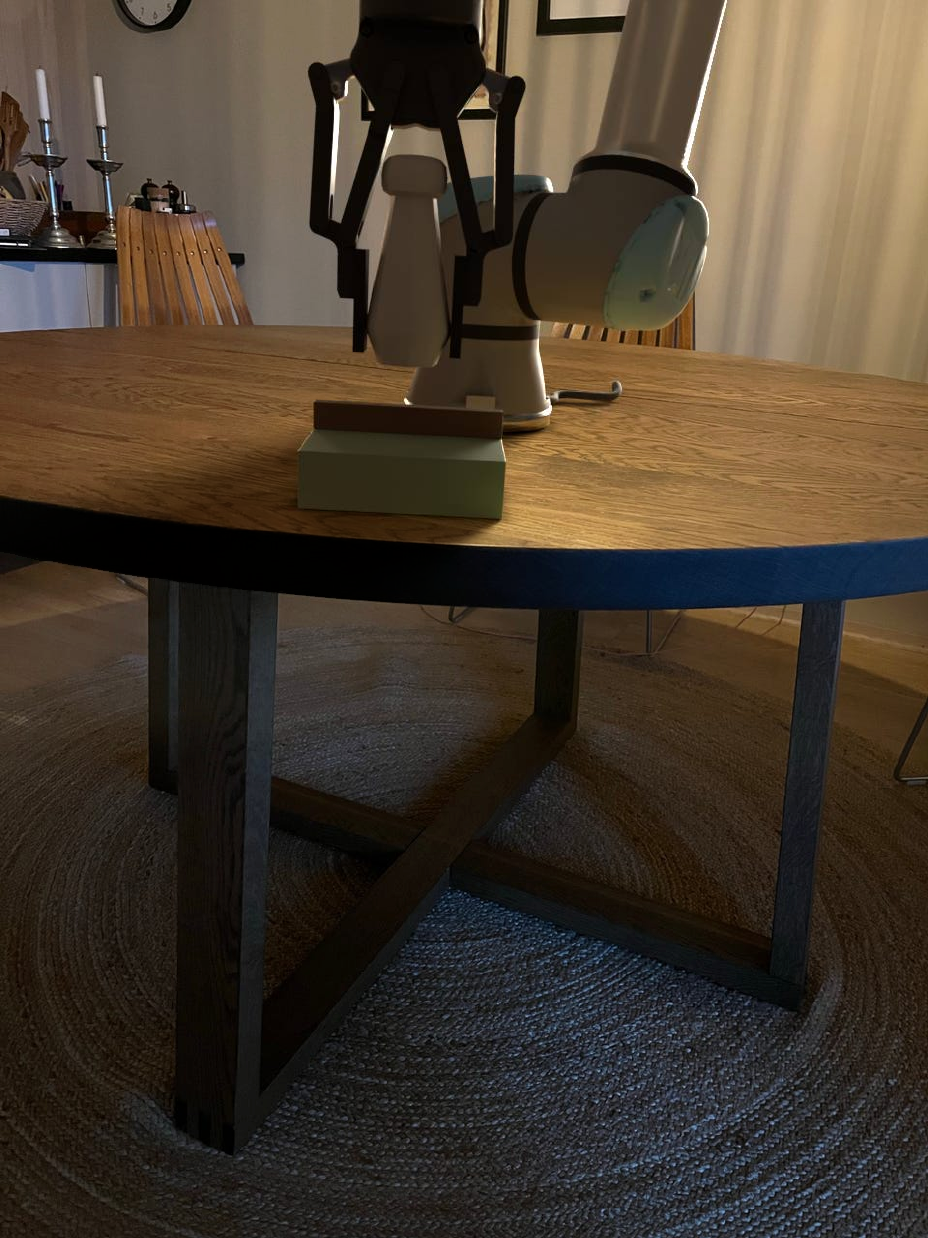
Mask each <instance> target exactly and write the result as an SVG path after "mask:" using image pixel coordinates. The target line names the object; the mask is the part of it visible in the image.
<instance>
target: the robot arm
mask: <svg viewBox="0 0 928 1238" xmlns="http://www.w3.org/2000/svg"><path fill="white" fill-rule="evenodd" d="M483 3H484V2H483V0H358V29H357V30H358V32H357V36H356V37H357V38H356V41H355V43H354V45H353V47H352V49H351V51H350V54H349V57H348V58H345V59H340V60H337V61H334V62H333V61H332V62H330V63H326V64H324V63H322V62H320V61H314V62H312V63H310V65H309V66H308V69H307V76H308V80H309V85H310V88H311V92H312V96H313V99H314V104H315V114H314V131H313V146H312V147H313V148H312V164H311V166H312V167H311V187H310V201H309V202H310V203H309V220H308V225H309V230H310V231H311V232H312V234H315V235H318V236H320V237H322V238H325V239H326V240H328V241H331V242H332V243H333V244H334V245H335V247H336V250H337V258H336V259H337V260H336V261H337V262H336V263H337V264H336V265H337V267H336V268H337V269H336V291H337V294H338V297H339V299H346V300H347V299H349V300H353V301H352V344H351V345H352V346H351V347H352V350H351V351H352V353H358V354H360V353H361V354H364V353H365V352H366V351H367V350H368V334H367V327H366V322H367V316H368V311H369V289H370V288H369V286H370V285H369V283H370V282H369V281H370V249H369V248H359V243H360V237H361V234H362V231H363V228H364V225H365V221H366V219H367V215H368V212H369V209H370V205H371V203H372V199H373V196H374V193H375V189H376V186H377V183H378V180H379V177H380V175H381V171H382V167H383V163H384V162H385V158H386V154H387V151H388V147H389V145H390V143H391V140H392V137H393V134H394V131H395V130H409V129H412V128H416V127H417V128H419V129H423V130H425V131H428V132H437V133H438V132H439V133H440V138H441V143H442V146H443V151H444V156H445V159H446V160H445V161H446V164H447V168H448V169H447V170H448V172H449V177H450V182H447V189H446V192H445V195H443V196H441V197H439V198H437V199H436V200H437V210H438V219H439V229H440V238H441V248H442V257H443V267H444V276H445V285H446V292H447V300H448V308H449V316H450V324H451V333H450V338H449V340H448V342H447V343H446V345H445V347H444V349H443V351H442V353H441V355H440V357H439V359H438V362H437V364H436V365H435V366H433V367H415V370H414V372H413V376H412V379H411V383H410V387H408V388H407V390H406V393H405V397H404V404H405V405H423V406H441V407H459V408H477V409H495V410H503V425H502V433H507V432H508V433H511V432H512V433H513V432H526V431H527V432H529V431H535V430H539V429H543V428H546V427H548V426H549V425H551V414H552V413H551V412H552V405H555V404H557V403H558V402H559V400H562V399H564V400H565V399H567V400H568V399H571V400H582V401H583V400H586V401H594V402H595V401H597V402H608V401H615V400H617V399H618V398H619V397H620V396H621V394H622V392H623V386H622V384H621V382H620V381H619V380H614V381H613V382H612V383H611V391H610V392H592V391H581V390H579V391H578V390H555V391H553V392H552V393H550V395H548V394H546V384H545V377H544V376H545V375H544V371H543V365H542V360H541V353H540V348H539V344H540V329H541V322H549V323H558V324H568V325H576V326H585V327H586V326H587V327H595V328H604V329H611V330H612V331H615V332H626V331H648V332H649V331H658V330H661V329H664V328H666V327H668V326H669V325H670V324H672V323H673V322H674V321H675V319H677V318H678V317H679V316H680V315H681V314H682V312H683V311H684V310H685V308H686V307H687V305H688V304H689V302H690V300H691V298H692V296H693V294H694V293H695V290H696V287H697V285H698V283H699V280H700V277H701V274H702V271H703V267H704V264H705V260H706V257H707V249H708V247H707V246H706V244H707V243H706V242H707V240H708V238H709V229H710V226H709V225H710V224H709V223H710V222H709V217H708V211H707V209H706V207H705V206H704V204H703V202H702V201H701V200H700V199H698V198H697V195H698V184H697V181H696V180H695V179H694V177H693V176H692V174H691V173H690V171H689V170H688V168H687V165H688V161H689V157H690V153H691V148H692V144H693V141H694V138H695V137H694V136H695V132H696V129H697V125H698V120H699V116H700V111H701V107H702V103H703V99H704V95H705V91H706V86H707V84H708V83H707V82H708V80H709V74H710V71H711V65H712V62H713V57H714V55H715V49H716V45H717V41H718V38H719V33H720V28H721V25H722V20H723V17H724V13H725V9H726V5H727V0H629V1H628V5H627V9H626V14H625V17H624V22H623V25H622V31H621V35H620V38H619V42H618V48H617V52H616V56H615V61H614V64H613V68H612V73H611V77H610V81H609V85H608V90H607V93H606V99H605V102H604V106H603V111H602V116H601V120H600V124H599V128H598V133H597V135H596V141H595V145H594V148H593V149H592V150H590V151H589V152H587V153H586V154H584V155H581V157H579V158H578V159H577V160H576V161H575V163H574V165H573V167H572V172H571V176H570V181H569V184H568V189H567V191H566V192H554V189H553V186H552V182H551V180H550V178H548V177H547V176H544V175H538V174H515V158H516V156H515V155H516V154H515V153H516V152H515V150H516V117H517V115H518V113H519V109H520V107H521V104H522V102H523V101H522V100H523V98H524V95H525V92H526V87H527V85H526V81H525V79H524V78H523V77H522V76H520V75H512V76H511V77H510V76H508V75H506V74H503V73H501V72H499V71H496V70H494V69H491V68H489V67H488V65H487V61H486V58H485V56H484V53H483V50H482V47H481V36H482V19H483ZM353 79H356V82H357V83H358V84H359V86H360V88H361V89H362V91H363V93H364V94H365V95H364V96H365V97H366V99H367V100H368V101H369V103H370V104H371V106H372V108H373V112H372V116H371V119H370V122H369V125H368V129H367V135H366V138H365V142H364V145H363V148H362V151H361V152H362V153H361V154H360V158H359V162H358V164H357V168H356V172H355V175H354V178H353V181H352V184H351V187H350V191H349V195H348V197H347V201H346V204H345V208H344V211H343V214H342V217H341V221H337V220H335V219H334V205H335V192H336V191H335V190H336V176H337V175H336V173H337V160H338V159H337V158H338V157H337V156H338V145H339V144H338V142H339V127H340V108H339V107H340V106H339V103H340V102H342V101H344V100H345V99H346V97H347V95H348V85H349V83H350V81H352V80H353ZM481 87H482V88H483V89H484V90H485V91H486V93H487V106H488V109H489V110H490V111H491V112H493V113H495V114H496V117H495V122H494V143H493V145H494V146H493V147H494V149H493V150H494V151H493V155H494V156H493V163H494V164H493V175H485V176H477V177H471V175H470V171H469V166H468V161H467V157H466V152H465V147H464V142H463V138H462V133H461V128H460V124H459V119H458V118H459V117H460V115H461V114H462V113H463V112H464V110H465V109H466V107H467V106H468V104H469V103H470V102H471V100H472V99H473V98H474V96H475V95H476V93H477V92H478V91H479V89H480V88H481Z"/></svg>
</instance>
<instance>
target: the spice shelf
mask: <svg viewBox="0 0 928 1238" xmlns="http://www.w3.org/2000/svg"><path fill="white" fill-rule="evenodd" d="M312 408H313V412H312V413H313V429H312V431H311V432H310V434H309V435H308V436H307V437H306V439H305V440H304V442H303V443H302V444H301V446H300V447H299V448H298V450H297V509H301V510H302V509H304V510H322V511H341V512H361V513H376V514H377V513H378V514H379V513H381V514H396V515H397V514H398V515H417V516H434V517H435V516H436V517H454V518H455V517H456V518H473V519H474V518H475V519H490V520H491V519H493V520H503V512H504V499H505V497H504V496H505V485H506V484H505V483H506V470H507V461H506V460H507V459H506V456H505V451H504V445H503V440H502V437H503V432H502V425H503V410H495V409H477V408H459V407H441V406H423V405H405V403H404V404H403V403H387V402H385V403H384V402H367V401H351V400H350V401H349V400H332V399H331V400H330V399H315V400H314V401H313V407H312Z"/></svg>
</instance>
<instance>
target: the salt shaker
mask: <svg viewBox="0 0 928 1238" xmlns="http://www.w3.org/2000/svg"><path fill="white" fill-rule="evenodd" d="M447 168H448V167H447V166H446V165H445V162H443V161H442V160H441V159H439V158H436V157H434V156H430V155H423V154H414V153H413V154H411V153H410V154H403V153H402V154H401V153H400V154H394V155H390V156H388V157H387V158H386V159H384V161H383V164H382V167H381V172H380V179H381V180H380V181H381V182H380V183H381V184H380V185H381V189H382V192H384V193H385V194H386V195H388V196H389V199H388V200H389V201H388V206H387V211H386V217H385V221H384V228H383V231H382V238H381V243H380V248H379V253H378V259H377V264H376V269H375V273H374V274H375V275H374V280H373V286H372V290H371V295H370V301H369V305H368V316H367V322H366V327H367V337H368V339H369V341H370V344H371V347H372V350H373V353H374V356H375V359H376V362H378V363H379V364H381V365H383V366H391V367H392V366H393V367H400V368H416V367H433V366H435V365H436V364H437V362H438V359H439V357H440V355H441V353H442V351H443V349H444V347H445V345H446V343H447V342H448V340H449V338H450V333H451V324H450V316H449V308H448V300H447V292H446V285H445V276H444V267H443V257H442V248H441V238H440V229H439V219H438V210H437V200H436V199H437V198H439V197H441V196H443V195H445V192H446V189H447V183H448V178H449V177H448V169H447Z"/></svg>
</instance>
